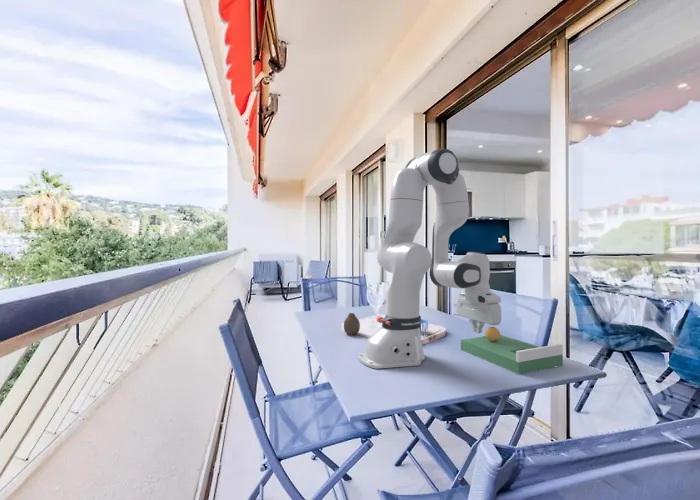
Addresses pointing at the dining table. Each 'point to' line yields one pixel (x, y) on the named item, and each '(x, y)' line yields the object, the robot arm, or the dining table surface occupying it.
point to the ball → (492, 334)
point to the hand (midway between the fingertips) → (477, 332)
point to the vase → (351, 324)
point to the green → (514, 353)
